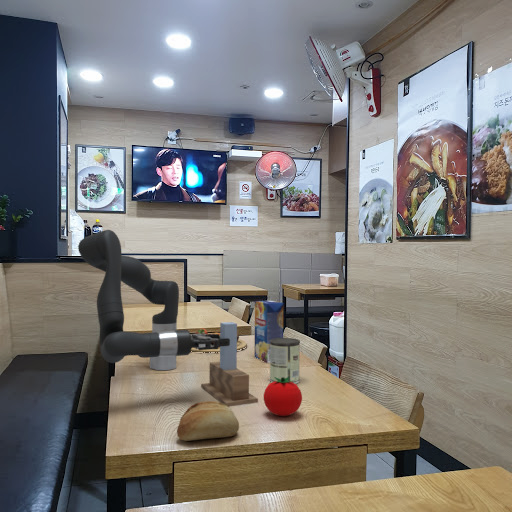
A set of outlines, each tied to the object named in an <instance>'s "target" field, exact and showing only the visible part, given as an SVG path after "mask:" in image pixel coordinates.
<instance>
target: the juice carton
mask: <svg viewBox="0 0 512 512" xmlns="http://www.w3.org/2000/svg"><path fill="white" fill-rule="evenodd" d="M275 338H284V302H280V301H275V300H255V301H254V358H255V357H256V358H255V359H257V358H258V359H257V360H259V359H260V360H259V361H261V360H262V361H261V362H263V361H264V362H263V363H265V364H270V340H271V339H275Z"/></svg>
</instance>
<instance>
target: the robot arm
mask: <svg viewBox="0 0 512 512" xmlns="http://www.w3.org/2000/svg"><path fill="white" fill-rule="evenodd" d="M77 247H78V253H79V255H80V257H81V258H82V259H83V261H85V262H86V263H87V264H88V265H90V266H91V267H93V268H96V269H98V270H100V271H102V272H105V274H104V277H103V280H102V283H101V285H100V287H99V291H98V293H97V296H96V311H97V318H98V323H99V347H100V349H99V350H100V355H101V356H102V358H103V359H104V360H105V361H106V362H108V363H109V364H110V363H111V364H116V363H119V362H121V361H122V360H123V359H124V358H125V357H127V356H130V357H131V356H138V357H139V358H144V359H145V358H146V359H147V358H149V369H150V370H151V369H153V370H155V371H169V370H170V371H171V370H174V369H176V368H177V357H181V356H189V355H190V354H191V353H192V352H191V349H192V348H196V349H198V350H209V349H218V347H221V346H229V345H230V339H228V338H224V339H219V334H220V333H219V334H212V333H209V334H210V335H209V334H208V335H207V334H203V333H199V334H196V333H191V332H190V331H189V329H178V327H177V326H178V325H177V324H178V323H177V322H178V315H179V301H180V289H179V285H178V283H177V282H176V281H174V280H156V279H153V278H152V275H151V274H152V273H151V271H150V268H149V267H148V266H147V265H146V264H145V263H144V262H142V261H141V260H139V259H138V258H136V257H133V256H129V255H122V245H121V241H120V238H119V236H118V235H117V234H116V232H114V231H113V230H111V229H105V230H101V231H99V232H96V233H93V234H90V235H88V236H86V237H84V238H83V239H81V240H80V241H79V243H78V245H77ZM122 283H123V284H125V285H126V286H128V287H129V288H132V289H133V290H135V291H137V292H138V293H139V294H141V296H143V297H144V298H146V299H147V301H149V302H150V303H151V304H153V305H159V306H160V305H161V306H164V307H163V308H164V309H163V310H162V311H161V312H158V313H156V314H153V315H152V317H151V319H152V321H151V322H152V323H151V324H152V325H151V327H152V328H151V329H152V330H151V332H143V333H142V332H141V333H140V332H135V331H126V330H125V331H124V323H125V313H124V307H123V300H122V289H121V287H122V285H121V284H122ZM177 329H178V330H177ZM213 342H214V345H211V343H213Z"/></svg>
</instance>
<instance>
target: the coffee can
mask: <svg viewBox="0 0 512 512" xmlns="http://www.w3.org/2000/svg"><path fill="white" fill-rule="evenodd" d="M300 343H301V341H300V339H298V338H291V337H283V338H275V339H271V340H270V363H269V367H270V369H269V371H270V372H269V375H270V376H269V381H271V382H275V381H278V380H276V379H275V377H276V378H278V379H281V378H282V377H284V378H287V377H289V379H288V381H292V382H293V383H294V384H296V385H297V384H299V383H300ZM272 380H273V381H272ZM271 382H270V383H271Z"/></svg>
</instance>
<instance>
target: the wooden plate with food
mask: <svg viewBox="0 0 512 512" xmlns="http://www.w3.org/2000/svg"><path fill="white" fill-rule="evenodd" d="M199 333H203V334H207V336H208V335H210V334H219V339H220V332H212V333H209V332H208V331H207V329H205V328H203V327H201V328H198V330H196V332H195V334H199ZM211 345H214V342H213V343H211ZM246 346H247V347H248V343H247V342H246V341H245V340H243V339H240V335H239V333H238V332H237V350H240V349H243V348H245V347H246ZM247 347H246V348H247ZM191 351H192V352H203V353H204V352H205V353H209V352H210V353H211V352H215V353H216V352H217V353H218V352H220V347H218V349H209V350H198V349H196V348H192V349H191ZM192 352H191V353H192Z"/></svg>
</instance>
